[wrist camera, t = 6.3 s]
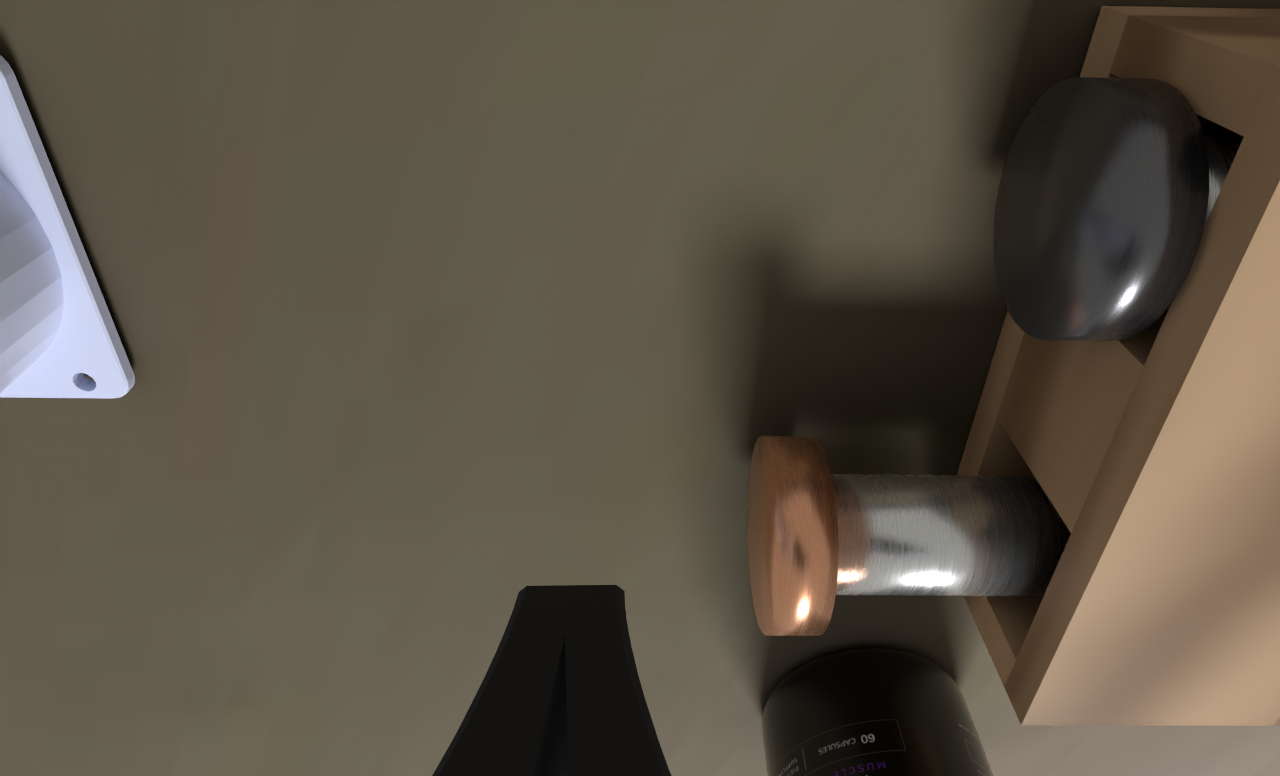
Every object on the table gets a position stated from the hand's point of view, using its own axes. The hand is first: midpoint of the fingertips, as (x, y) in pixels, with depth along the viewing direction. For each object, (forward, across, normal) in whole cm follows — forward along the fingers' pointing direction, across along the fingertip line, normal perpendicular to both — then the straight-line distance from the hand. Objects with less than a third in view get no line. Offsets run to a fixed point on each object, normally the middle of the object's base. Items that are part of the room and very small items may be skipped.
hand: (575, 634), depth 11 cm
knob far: (+9, -7, +4) cm, 12 cm away
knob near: (+9, -12, -3) cm, 15 cm away
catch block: (+9, -13, +1) cm, 16 cm away
